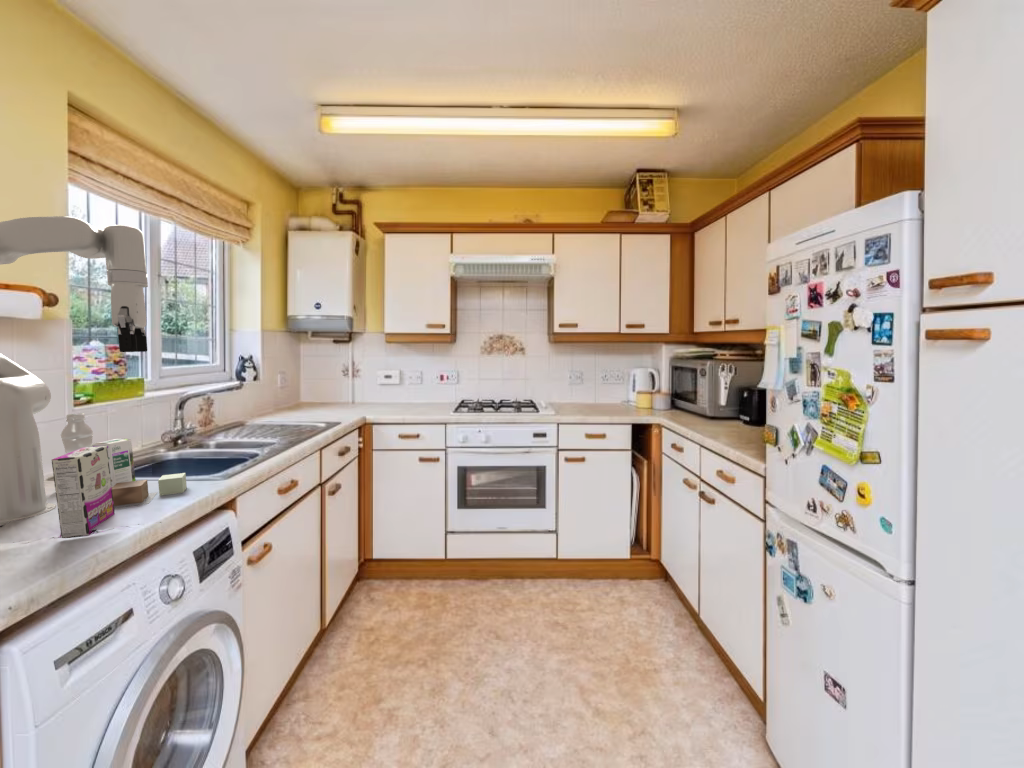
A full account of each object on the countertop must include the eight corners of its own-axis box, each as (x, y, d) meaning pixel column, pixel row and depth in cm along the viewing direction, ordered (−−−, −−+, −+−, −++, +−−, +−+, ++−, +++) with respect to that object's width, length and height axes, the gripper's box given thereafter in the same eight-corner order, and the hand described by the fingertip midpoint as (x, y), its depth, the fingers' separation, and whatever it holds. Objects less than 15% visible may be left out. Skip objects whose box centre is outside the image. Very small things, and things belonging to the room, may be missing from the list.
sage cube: (159, 499, 122) (158, 480, 121) (164, 494, 126) (162, 475, 126) (183, 496, 124) (182, 477, 123) (187, 491, 128) (185, 472, 128)
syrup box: (115, 500, 121) (110, 443, 120) (96, 499, 123) (90, 442, 121) (137, 493, 127) (132, 438, 126) (118, 492, 128) (113, 438, 127)
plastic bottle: (96, 485, 135) (89, 414, 133) (64, 490, 131) (56, 416, 130) (100, 480, 140) (93, 411, 139) (68, 485, 137) (61, 414, 135)
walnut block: (111, 506, 114) (109, 489, 114) (118, 499, 119) (117, 483, 119) (142, 502, 116) (141, 485, 116) (148, 495, 122) (147, 479, 121)
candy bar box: (89, 520, 108) (81, 447, 106) (116, 517, 109) (109, 445, 108) (58, 539, 97) (49, 458, 96) (88, 536, 98) (80, 456, 97)
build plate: (100, 514, 112) (100, 509, 111) (113, 501, 120) (113, 497, 120) (148, 507, 115) (148, 503, 115) (158, 496, 124) (157, 492, 124)
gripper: (118, 283, 123) (125, 352, 124) (95, 274, 107) (103, 352, 108) (155, 284, 126) (160, 351, 127) (137, 275, 110) (144, 351, 112)
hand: (134, 351), depth 118 cm, fingers open, 9 cm apart
